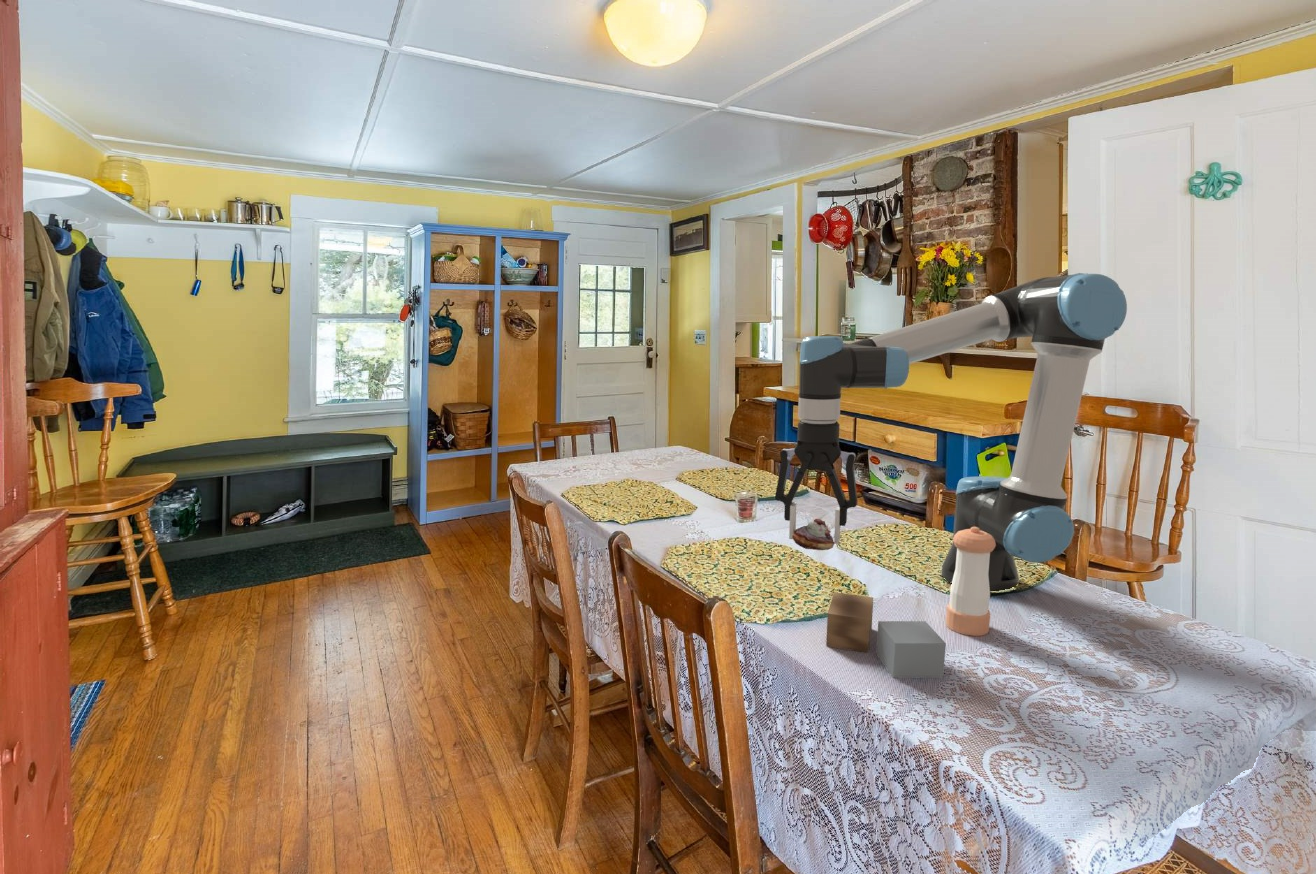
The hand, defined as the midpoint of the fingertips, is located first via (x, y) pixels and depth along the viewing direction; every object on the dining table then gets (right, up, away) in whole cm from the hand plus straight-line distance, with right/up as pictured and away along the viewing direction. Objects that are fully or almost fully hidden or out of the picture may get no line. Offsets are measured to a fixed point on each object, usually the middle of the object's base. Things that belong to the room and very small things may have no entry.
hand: (814, 539), depth 129 cm
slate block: (+11, -18, -18) cm, 28 cm away
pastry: (-1, -1, -1) cm, 2 cm away
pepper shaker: (+27, -16, -4) cm, 32 cm away
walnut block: (+4, -16, -8) cm, 19 cm away
